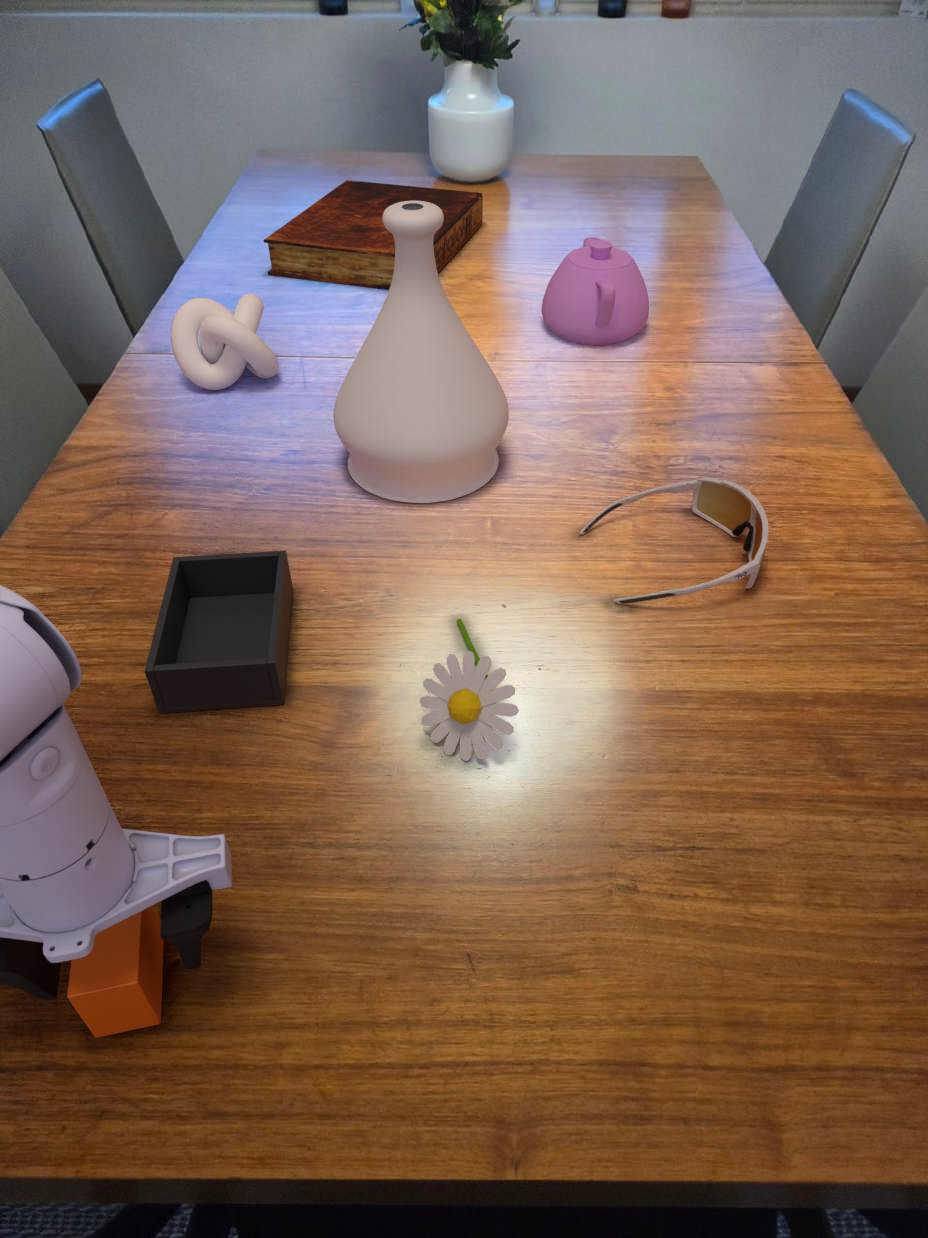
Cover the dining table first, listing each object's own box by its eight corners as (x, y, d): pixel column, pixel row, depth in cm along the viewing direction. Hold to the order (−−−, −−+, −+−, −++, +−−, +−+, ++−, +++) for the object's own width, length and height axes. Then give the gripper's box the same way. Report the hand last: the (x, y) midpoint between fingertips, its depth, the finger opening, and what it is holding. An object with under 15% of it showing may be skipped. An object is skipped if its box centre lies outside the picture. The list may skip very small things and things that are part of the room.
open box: (159, 713, 65) (144, 671, 62) (185, 598, 75) (173, 556, 72) (284, 705, 66) (274, 662, 63) (293, 591, 75) (286, 550, 72)
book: (421, 293, 123) (419, 257, 120) (268, 274, 129) (262, 239, 125) (483, 225, 144) (483, 192, 141) (348, 211, 150) (345, 179, 146)
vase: (421, 531, 82) (408, 259, 65) (304, 462, 91) (266, 207, 74) (541, 458, 91) (557, 204, 74) (425, 402, 100) (415, 164, 83)
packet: (94, 1039, 48) (66, 997, 44) (103, 937, 52) (78, 893, 49) (161, 1024, 48) (137, 982, 45) (164, 925, 53) (143, 880, 49)
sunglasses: (792, 594, 74) (799, 548, 71) (622, 637, 74) (621, 593, 70) (723, 501, 85) (726, 457, 81) (573, 538, 84) (570, 496, 81)
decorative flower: (437, 557, 67) (502, 695, 56) (492, 589, 71) (563, 723, 60) (374, 626, 70) (425, 769, 59) (431, 653, 74) (488, 792, 63)
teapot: (634, 293, 123) (644, 213, 116) (657, 357, 108) (670, 270, 101) (535, 293, 123) (539, 213, 116) (545, 357, 108) (550, 271, 101)
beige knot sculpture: (309, 373, 105) (299, 300, 99) (231, 412, 98) (215, 336, 92) (247, 348, 111) (234, 276, 105) (169, 383, 104) (150, 309, 98)
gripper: (-154, 939, 36) (-27, 1070, 45) (207, 870, 38) (258, 1007, 47) (-110, 801, 41) (-4, 944, 50) (206, 747, 43) (253, 893, 52)
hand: (124, 967), depth 49 cm, fingers open, 7 cm apart
